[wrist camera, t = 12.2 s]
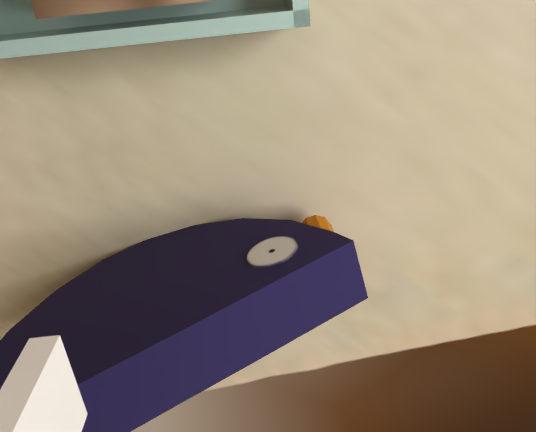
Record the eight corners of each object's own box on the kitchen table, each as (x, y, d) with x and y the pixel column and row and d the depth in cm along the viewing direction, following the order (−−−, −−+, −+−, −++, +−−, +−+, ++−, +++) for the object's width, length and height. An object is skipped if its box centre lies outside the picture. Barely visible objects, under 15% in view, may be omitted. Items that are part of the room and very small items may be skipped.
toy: (283, 174, 47) (375, 227, 34) (297, 222, 49) (389, 288, 36) (-42, 325, 40) (-83, 465, 27) (-7, 372, 42) (-29, 523, 29)
